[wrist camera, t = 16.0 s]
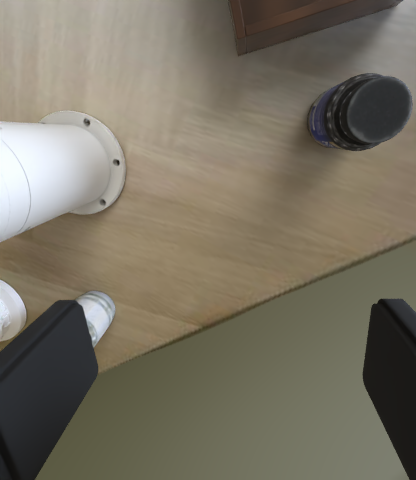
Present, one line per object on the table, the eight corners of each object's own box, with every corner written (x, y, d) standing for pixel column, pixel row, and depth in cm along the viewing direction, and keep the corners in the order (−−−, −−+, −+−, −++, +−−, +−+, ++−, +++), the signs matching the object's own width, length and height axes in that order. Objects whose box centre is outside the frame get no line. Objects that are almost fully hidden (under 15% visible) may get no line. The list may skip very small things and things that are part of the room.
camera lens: (125, 309, 44) (102, 344, 37) (100, 330, 46) (73, 367, 39) (94, 280, 43) (64, 311, 36) (70, 303, 45) (36, 336, 38)
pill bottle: (309, 152, 34) (338, 160, 23) (303, 95, 32) (332, 76, 21) (366, 140, 32) (423, 143, 22) (363, 80, 31) (425, 53, 20)
